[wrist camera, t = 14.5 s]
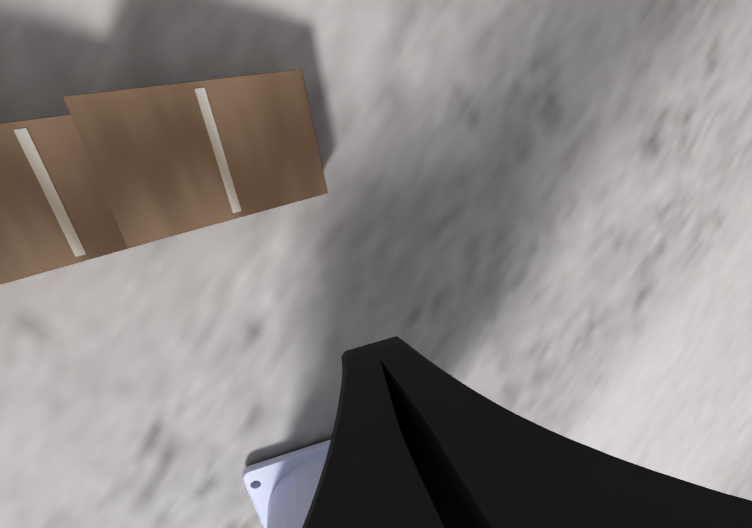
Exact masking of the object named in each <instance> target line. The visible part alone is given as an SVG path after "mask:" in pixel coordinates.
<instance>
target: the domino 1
mask: <svg viewBox="0 0 752 528" xmlns="http://www.w3.org/2000/svg"><path fill="white" fill-rule="evenodd" d="M155 241H156V240H155ZM148 243H149V242H148ZM141 245H142V244H141ZM137 246H138V245H137ZM134 247H135V246H134ZM130 248H131V247H130ZM124 249H128V248H127V245H126V243H125V241H124V238H123V236H122V234H121V231H120V229H119V227H118V224H117V222H116V220H115V217H114V215H113V213H112V210H111V208H110V206H109V203H108V201H107V199H106V196H105V194H104V192H103V189H102V187H101V185H100V182H99V180H98V178H97V175H96V173H95V171H94V168H93V166H92V164H91V161H90V159H89V157H88V154H87V152H86V150H85V147H84V145H83V143H82V140H81V138H80V136H79V133H78V131H77V129H76V126H75V124H74V122H73V119H72V117H71V115H64V116H56V117H49V118H41V119H33V120H26V121H18V122H11V123H3V124H0V284H4V283H8V282H11V281H15V280H18V279H22V278H25V277H29V276H32V275H36V274H39V273H43V272H46V271H50V270H53V269H57V268H60V267H64V266H68V265H71V264H75V263H78V262H82V261H85V260H89V259H92V258H96V257H99V256H103V255H106V254H110V253H113V252H117V251H121V250H124Z"/></svg>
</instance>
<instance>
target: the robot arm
mask: <svg viewBox="0 0 752 528" xmlns="http://www.w3.org/2000/svg"><path fill="white" fill-rule="evenodd" d="M342 369H343V370H342V384H341V393H340V398H339V404H338V410H337V416H336V421H335V425H334V429H333V433H332V437H331V439H330V440H327V441H324V442H321V443H318V444H315V445H312V446H309V447H306V448H303V449H299V450H296V451H293V452H290V453H287V454H284V455H281V456H278V457H275V458H272V459H268V460H265V461H262V462H259V463H256V464H253V465H250V466H248V467H246V468H245V469H244V472H243V481H244V484H245V486H246V488H247V491H248V493H249V495H250V498H251V500H252V502H253V505H254V507H255V509H256V512H257V514H258V516H259V519H260V521H261V523H262V526H263V528H752V501H750V500H747V499H743V498H739V497H736V496H732V495H728V494H725V493H721V492H718V491H715V490H711V489H708V488H705V487H702V486H699V485H696V484H693V483H689V482H686V481H683V480H680V479H677V478H674V477H671V476H668V475H665V474H662V473H659V472H655V471H652V470H650V469H647V468H644V467H641V466H638V465H636V464H633V463H630V462H627V461H624V460H621V459H619V458H616V457H613V456H611V455H608V454H606V453H603V452H601V451H598V450H596V449H593V448H591V447H588V446H586V445H583V444H581V443H578V442H576V441H573V440H571V439H568V438H566V437H564V436H561V435H559V434H557V433H554V432H552V431H550V430H548V429H546V428H543V427H541V426H539V425H537V424H535V423H533V422H531V421H529V420H527V419H525V418H523V417H521V416H519V415H516V414H514V413H513V412H511V411H509V410H507V409H505V408H503V407H501V406H500V405H498V404H496V403H494V402H493V401H491V400H489V399H487V398H486V397H484V396H482V395H481V394H479V393H477V392H476V391H474V390H472V389H471V388H469V387H467V386H466V385H464V384H463V383H461V382H460V381H458V380H457V379H455V378H454V377H452V376H451V375H449V374H448V373H446V372H445V371H443V370H442V369H440V368H439V367H437V366H436V365H435V364H433V363H432V362H430V361H429V360H428V359H426V358H425V357H424V356H422V355H421V354H420V353H418V352H417V351H416V350H414V349H413V348H412V347H411V346H409V345H408V344H407V343H406V342H404V341H403V340H402V339H400V338H399V337H397V336H396V337H393V338H389V339H386V340H382V341H379V342H375V343H372V344H368V345H365V346H362V347H358V348H355V349H351V350H348V351H345V352H344V354H343V355H342ZM253 481H258V482H253Z"/></svg>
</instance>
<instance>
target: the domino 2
mask: <svg viewBox="0 0 752 528" xmlns="http://www.w3.org/2000/svg"><path fill="white" fill-rule="evenodd" d="M63 98H64V101H65V103H66V105H67V108H68V110H69V112H70V115H71V117H72V119H73V122H74V124H75V126H76V129H77V131H78V133H79V136H80V138H81V140H82V143H83V145H84V147H85V150H86V152H87V154H88V157H89V159H90V161H91V164H92V166H93V168H94V171H95V173H96V175H97V178H98V180H99V182H100V185H101V187H102V189H103V192H104V194H105V196H106V199H107V201H108V203H109V206H110V208H111V210H112V213H113V215H114V217H115V220H116V222H117V224H118V227H119V229H120V231H121V234H122V236H123V238H124V241H125V243H126V245H127V248H130V247H134V246H137V245H141V244H145V243H148V242H152V241H155V240H159V239H163V238H166V237H170V236H174V235H177V234H181V233H184V232H188V231H192V230H195V229H199V228H203V227H206V226H210V225H214V224H217V223H221V222H224V221H228V220H232V219H235V218H239V217H243V216H246V215H250V214H253V213H257V212H261V211H264V210H268V209H272V208H275V207H279V206H282V205H286V204H290V203H293V202H297V201H301V200H304V199H308V198H312V197H315V196H319V195H322V194H326V193H328V192H327V187H326V183H325V178H324V173H323V169H322V164H321V159H320V154H319V150H318V145H317V140H316V136H315V131H314V126H313V122H312V117H311V112H310V108H309V103H308V98H307V94H306V89H305V84H304V80H303V75H302V70H301V69H300V70H292V71H283V72H274V73H265V74H257V75H248V76H239V77H231V78H222V79H213V80H205V81H196V82H187V83H178V84H170V85H161V86H152V87H144V88H135V89H126V90H117V91H109V92H100V93H91V94H83V95H74V96H65V97H63Z"/></svg>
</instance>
